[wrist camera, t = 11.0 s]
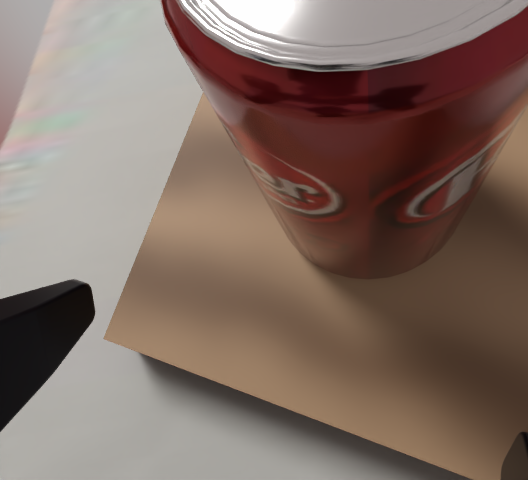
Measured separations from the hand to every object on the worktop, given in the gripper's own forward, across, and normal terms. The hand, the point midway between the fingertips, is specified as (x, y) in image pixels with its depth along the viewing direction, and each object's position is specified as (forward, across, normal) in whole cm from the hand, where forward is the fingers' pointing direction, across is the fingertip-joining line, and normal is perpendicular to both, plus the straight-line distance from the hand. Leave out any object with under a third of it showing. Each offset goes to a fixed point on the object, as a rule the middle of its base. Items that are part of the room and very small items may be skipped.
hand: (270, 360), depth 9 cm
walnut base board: (+13, 0, +2) cm, 13 cm away
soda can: (+11, 0, +1) cm, 11 cm away
